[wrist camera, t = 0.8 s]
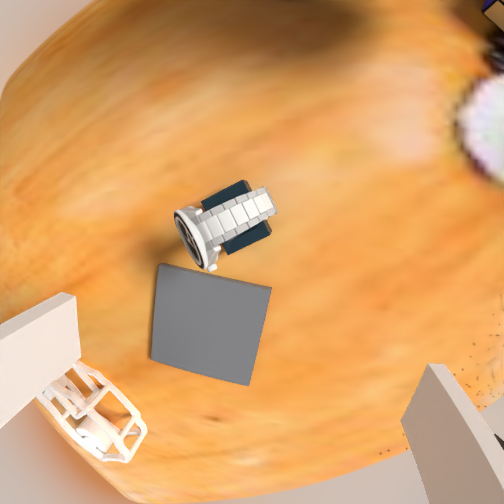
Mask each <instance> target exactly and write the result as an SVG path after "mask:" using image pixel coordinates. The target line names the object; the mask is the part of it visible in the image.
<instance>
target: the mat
mask: <svg viewBox="0 0 504 504" xmlns="http://www.w3.org/2000/svg"><path fill="white" fill-rule="evenodd" d="M271 289H272V287H267V286H262V285H258V284H253V283H248V282H244V281H239V280H235V279H230V278H226V277H221V276H217V275H213V274H208V273H204V272H200V271H195V270H191V269H187V268H182V267H178V266H174V265H170V264H166V263H161V264H159V269H158V278H157V288H156V298H155V309H154V321H153V335H152V351H151V360H153V361H156V362H159V363H163V364H166V365H169V366H173V367H176V368H179V369H183V370H186V371H190V372H193V373H197V374H201V375H205V376H208V377H212V378H216V379H220V380H224V381H228V382H233V383H237V384H241V385H246V386H249V384H250V380H251V375H252V371H253V367H254V363H255V359H256V355H257V350H258V346H259V342H260V337H261V333H262V329H263V324H264V320H265V316H266V311H267V307H268V302H269V298H270V294H271Z"/></svg>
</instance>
